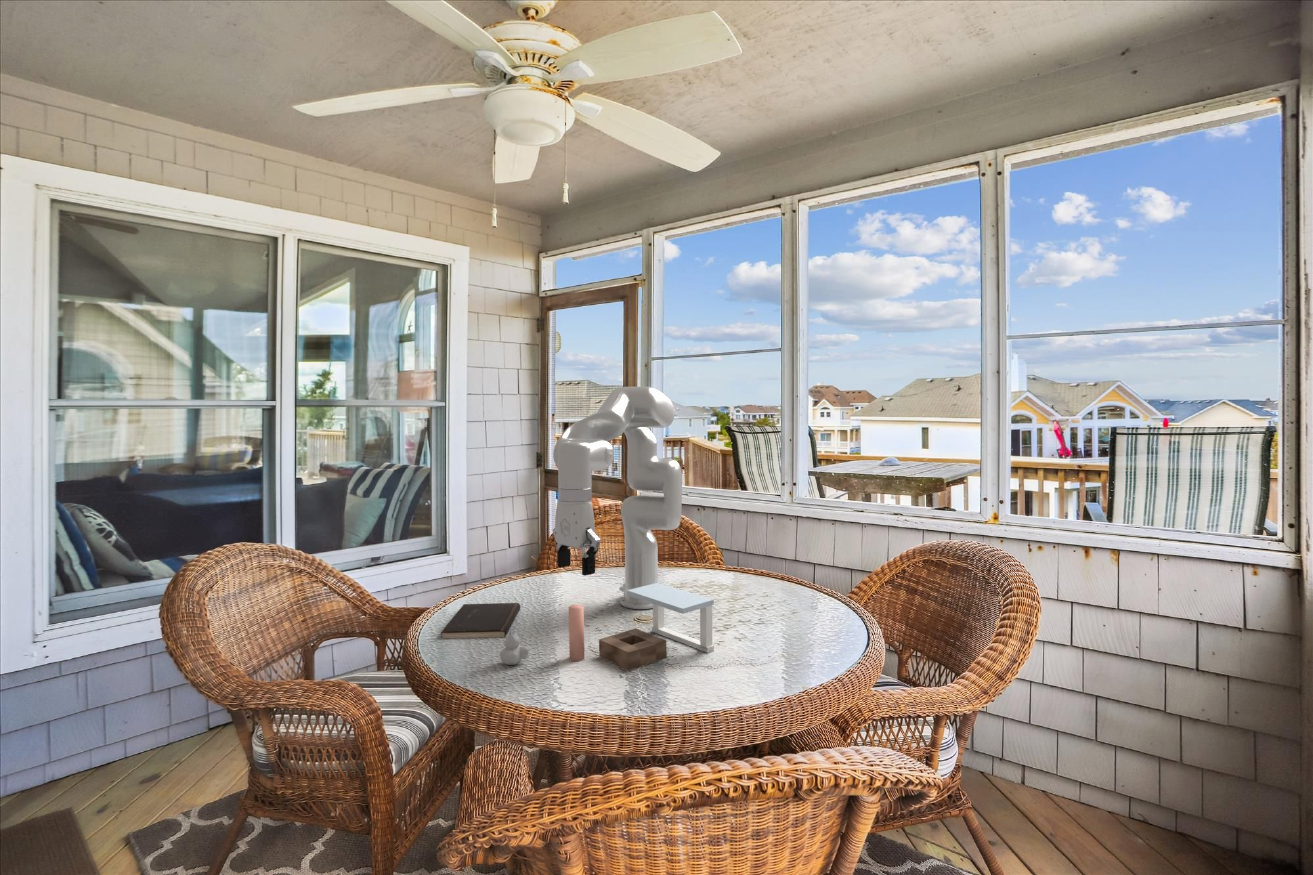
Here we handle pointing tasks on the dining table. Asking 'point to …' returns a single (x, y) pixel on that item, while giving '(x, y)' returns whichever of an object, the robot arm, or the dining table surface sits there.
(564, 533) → the robot arm
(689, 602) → the small white step stool
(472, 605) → the hardcover book
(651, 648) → the socket block
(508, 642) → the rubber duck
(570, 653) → the peg
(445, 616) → the dining table surface
